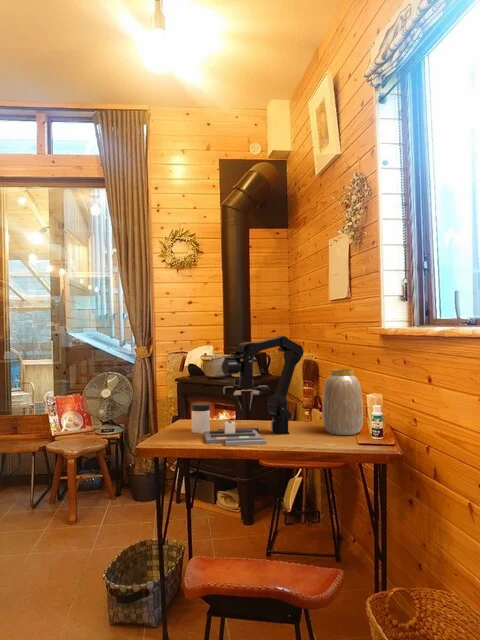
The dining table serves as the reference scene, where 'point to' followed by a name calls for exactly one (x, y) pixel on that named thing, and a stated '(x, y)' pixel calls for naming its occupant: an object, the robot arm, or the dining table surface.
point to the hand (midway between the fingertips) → (246, 410)
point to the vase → (342, 403)
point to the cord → (243, 429)
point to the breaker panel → (229, 436)
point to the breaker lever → (229, 427)
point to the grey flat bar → (245, 442)
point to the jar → (200, 417)
